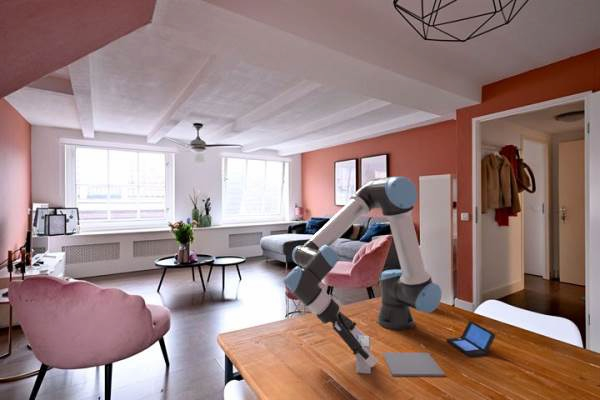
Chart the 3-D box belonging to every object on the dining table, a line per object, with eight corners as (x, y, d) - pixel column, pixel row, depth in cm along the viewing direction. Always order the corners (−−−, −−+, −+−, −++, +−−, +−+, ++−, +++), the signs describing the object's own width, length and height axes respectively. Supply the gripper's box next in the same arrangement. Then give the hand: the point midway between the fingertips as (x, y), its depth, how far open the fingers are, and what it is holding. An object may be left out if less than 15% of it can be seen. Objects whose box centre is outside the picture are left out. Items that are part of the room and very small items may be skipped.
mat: (382, 354, 107) (382, 352, 107) (428, 354, 106) (428, 352, 106) (392, 375, 94) (392, 373, 94) (444, 376, 93) (444, 374, 93)
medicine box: (370, 374, 95) (370, 346, 95) (356, 373, 96) (355, 345, 96) (370, 361, 103) (369, 335, 103) (356, 360, 103) (356, 334, 103)
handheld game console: (445, 341, 116) (444, 322, 116) (470, 339, 118) (470, 319, 118) (469, 358, 104) (468, 336, 104) (496, 355, 106) (496, 333, 106)
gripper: (314, 301, 112) (356, 342, 112) (316, 331, 87) (369, 383, 87) (329, 287, 112) (370, 328, 111) (334, 312, 87) (388, 365, 87)
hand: (370, 352), depth 99 cm, fingers open, 13 cm apart
